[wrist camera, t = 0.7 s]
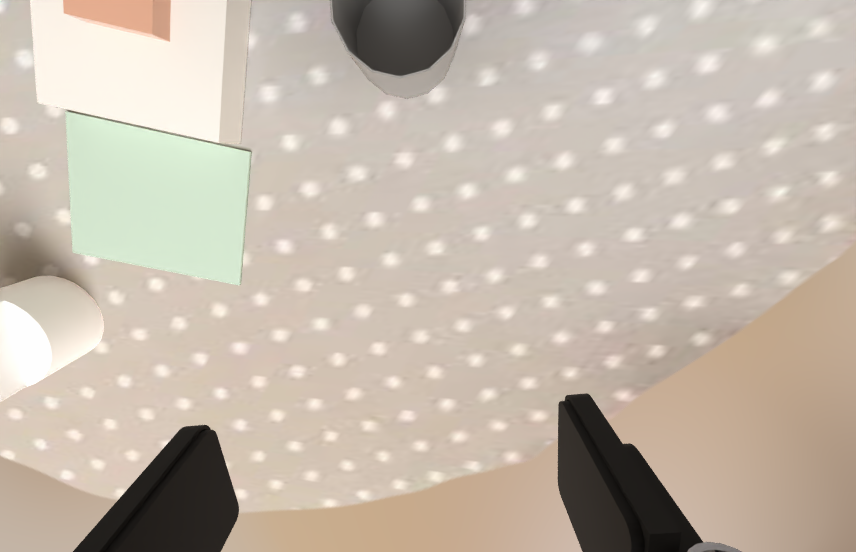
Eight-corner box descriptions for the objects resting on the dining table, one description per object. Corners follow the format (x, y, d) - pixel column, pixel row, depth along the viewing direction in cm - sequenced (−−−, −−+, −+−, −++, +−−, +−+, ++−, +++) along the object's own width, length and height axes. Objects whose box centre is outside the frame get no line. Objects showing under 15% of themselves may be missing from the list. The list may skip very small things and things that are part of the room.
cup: (399, 118, 35) (390, 106, 26) (335, 38, 33) (299, -8, 24) (474, 51, 34) (494, 11, 24) (411, -38, 32) (406, -120, 22)
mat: (68, 111, 35) (65, 111, 34) (251, 152, 36) (250, 152, 36) (75, 251, 39) (72, 252, 38) (240, 284, 40) (239, 285, 39)
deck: (70, -114, 30) (19, -153, 26) (255, -66, 31) (232, -96, 27) (79, 108, 35) (37, 102, 31) (240, 143, 36) (218, 142, 32)
